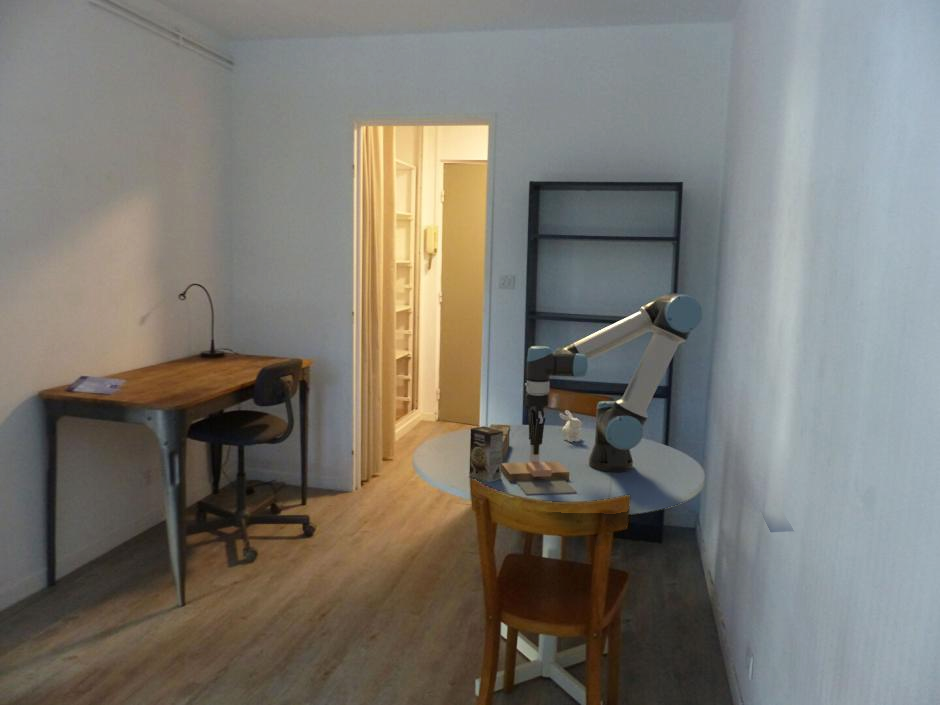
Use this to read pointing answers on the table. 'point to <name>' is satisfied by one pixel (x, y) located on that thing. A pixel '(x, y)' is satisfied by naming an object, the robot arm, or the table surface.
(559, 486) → the mat
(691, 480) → the table surface
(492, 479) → the coffee box
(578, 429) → the rabbit
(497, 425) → the block tower
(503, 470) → the brown wooden board
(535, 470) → the salmon orange flat block
